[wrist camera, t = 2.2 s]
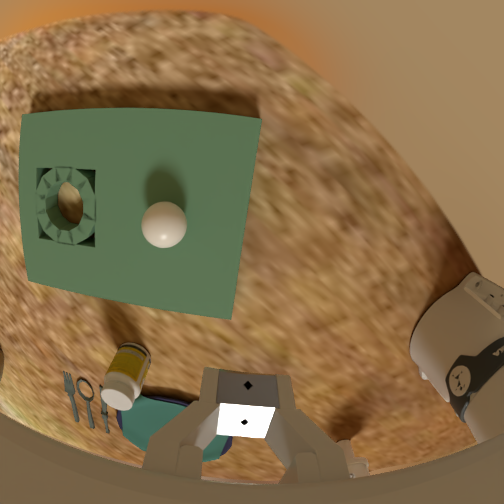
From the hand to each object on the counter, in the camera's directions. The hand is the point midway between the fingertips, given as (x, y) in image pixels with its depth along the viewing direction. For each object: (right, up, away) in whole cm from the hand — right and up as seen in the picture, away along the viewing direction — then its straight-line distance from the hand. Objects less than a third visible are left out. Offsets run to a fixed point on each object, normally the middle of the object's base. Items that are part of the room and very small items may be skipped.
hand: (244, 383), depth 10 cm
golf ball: (-7, +7, +15) cm, 18 cm away
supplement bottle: (-15, -9, +26) cm, 32 cm away
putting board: (-13, +9, +19) cm, 25 cm away
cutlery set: (-18, -24, +32) cm, 44 cm away
